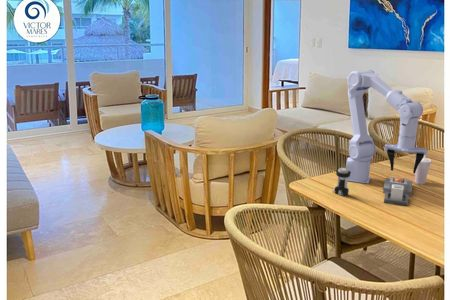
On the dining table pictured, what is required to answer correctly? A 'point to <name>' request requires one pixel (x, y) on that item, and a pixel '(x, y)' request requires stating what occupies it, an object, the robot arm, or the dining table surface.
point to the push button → (342, 181)
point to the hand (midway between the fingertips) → (403, 171)
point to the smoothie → (422, 170)
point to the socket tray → (396, 202)
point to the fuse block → (396, 192)
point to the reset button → (398, 180)
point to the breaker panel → (406, 184)
